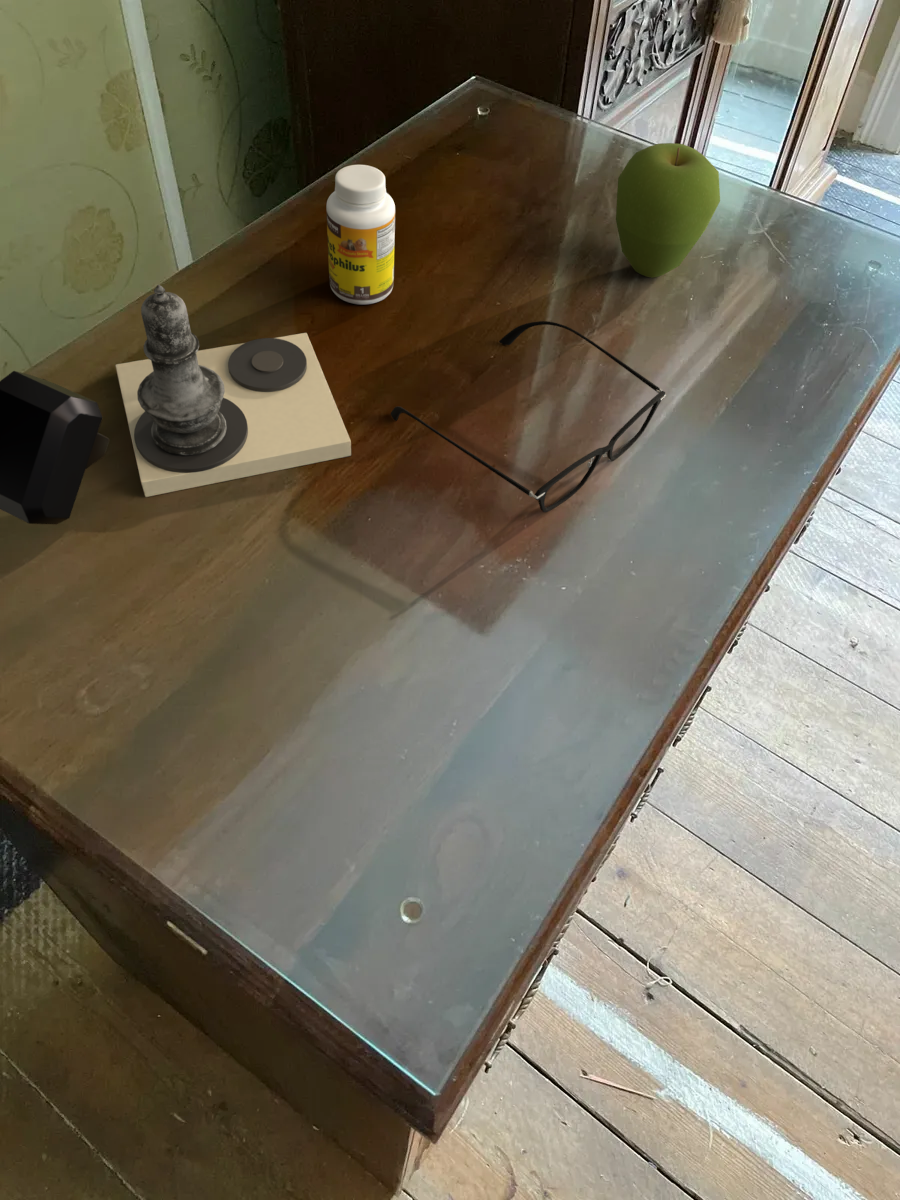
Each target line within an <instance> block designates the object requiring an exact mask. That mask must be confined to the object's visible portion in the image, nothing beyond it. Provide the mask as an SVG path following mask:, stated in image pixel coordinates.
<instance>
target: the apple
mask: <svg viewBox="0 0 900 1200" xmlns="http://www.w3.org/2000/svg"><path fill="white" fill-rule="evenodd" d="M616 188H617V190H616V191H617V194H616V209H615V222H616V228H617V232H618V238H619V243H620V248H621V252H622V253H623V255H624V257H625V259H626V260H627V261H628V263H629V264H630V267H632V269H633V270H634V271H635V272H636V273H638V274H639V275H642V276H644V277H646V278H652V279H655V278H659V277H661V276H664V275H666V274H668V273H669V272H671V271H673V270H674V269H676V268H679V267H680V266H681V264H682V263H683V262H684V260H686V258H687V256H688V255H689V253H690V252H691V251H692V249H693V248H694V247H695V245H696V244H697V242H698V241H699V240H700V238H701V237H702V236H703V234H704V233H705V231H706V230H707V228H708V226H709V224H710V222H711V220H712V218H713V216H714V214H715V212H716V211H717V208H718V207H719V204H720V203H721V189H720V188H721V187H720V173H719V170H718V169H717V168H716V166H714V165H713V163H711V161H710V160H709V159H707V157H706V156H705V155H704V154H703V153H701V152H700V151H698V150H697V149H696V148H693V147H691V146H688V145H686V144H684V143H675V142H662V143H655V144H653V145H650V146H647V147H645V148H643V149H640V150H639V151H636V152H635V153H634V154H633V155H632V156H631V157H630V158H629V160H628V162H627V163H626V165H625V166H624V167H623V170H622V171H621V173H620V174H619V175H618V177H617V187H616Z"/></svg>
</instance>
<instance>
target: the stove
mask: <svg viewBox="0 0 900 1200" xmlns="http://www.w3.org/2000/svg"><path fill="white" fill-rule="evenodd" d="M196 354H197V360H198V365H202V366H205V367H207V368H209V369H211V370H213V371H214V372H215V373H217V374H218V375H219V376H220V377H221V379H222V381H223V383H224V389H225V393H224V396H223V399H222V402H221V405H220V409H219V412H220V413H221V414H222V415H223V417H224V418H225V420H226V426H227V430H226V434H225V436H224V437H223V439H222V441H221V442H220V443H218V444H217V445H216V446H215V447H213V448H212V449H210V450H208V451H206V452H202V453H199V454H194V455H176V454H173V453H169V452H167V451H165V450H163V449H161V448H160V447H159V446H158V445H157V444H156V443H155V442H154V440H153V438H152V432H151V428H152V425H153V422H154V421H153V420H152V419H151V418H150V416H149V415H148V414H147V412H146V411H145V410H144V409H143V408H142V407H141V405H140V403H139V401H138V396H137V391H138V388H139V385H140V384H141V382H142V381H143V380H144V378H145V377H146V376H148V375H149V374H150V373H152V372H153V371H154V370H153V366H152V362H151V360H150V359H149V358H147V359H140V360H135V361H129V362H128V361H127V362H123V363H116V364H114V365H115V370H116V374H117V375H116V376H117V380H118V384H119V388H120V389H119V390H120V393H121V397H122V403H123V406H124V411H125V415H126V420H127V424H128V425H127V426H128V429H129V434H130V438H131V442H132V447H133V452H134V456H135V461H136V465H137V469H138V470H137V471H138V474H139V480H140V484H141V487H142V491H143V494H144V497H145V498H148V497H153V496H158V495H164V494H167V493H168V494H169V493H172V492H173V493H174V492H177V491H178V492H179V491H181V490H182V491H184V490H187V489H193V488H198V487H203V486H208V485H214V484H217V483H222V482H228V481H233V480H238V479H243V478H247V477H252V476H257V475H262V474H267V473H272V472H277V471H281V470H282V471H283V470H287V469H292V468H297V467H302V466H306V465H312V464H317V463H321V462H327V461H331V460H337V459H341V458H347V457H351V456H352V441H351V438H350V435H349V433H348V431H347V428H346V426H345V423H344V421H343V419H342V415H341V414H340V411H339V409H338V406H337V404H336V401H335V398H334V397H333V394H332V392H331V391H332V390H331V389H330V387H329V384H328V382H327V380H326V379H327V378H326V377H325V374H324V371H323V370H322V366H321V364H320V362H319V360H318V357H317V355H316V352H315V350H314V347H313V345H312V343H311V340H310V338H309V335H308V333H307V332H302V333H297V334H290V335H284V336H278V337H263V338H257V339H252V340H249V341H247V342H242V343H236V344H231V345H224V346H218V347H212V348H206V349H200V350H198V351H197V353H196Z"/></svg>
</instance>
